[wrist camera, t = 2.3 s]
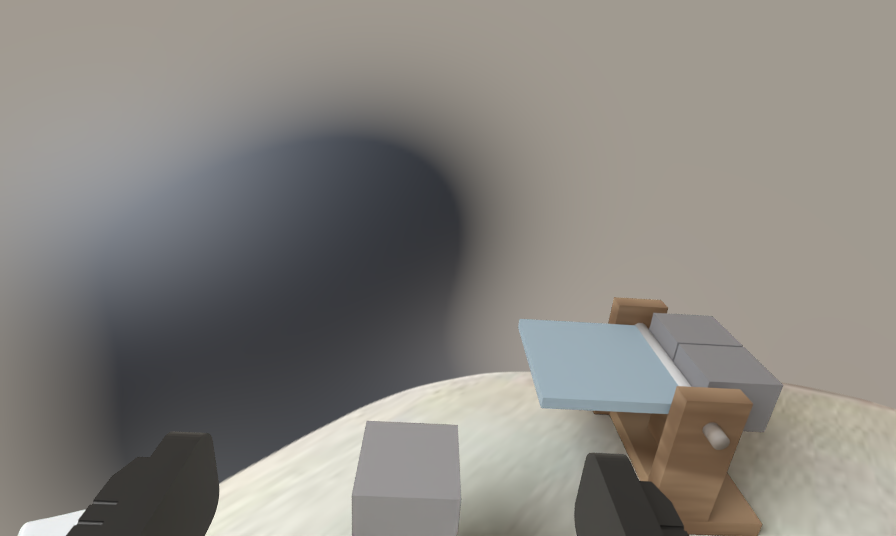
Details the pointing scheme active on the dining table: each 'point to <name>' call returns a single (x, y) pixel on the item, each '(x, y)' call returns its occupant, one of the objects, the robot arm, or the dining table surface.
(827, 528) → the dining table surface
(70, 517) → the skincare box
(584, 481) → the robot arm
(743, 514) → the trapdoor frame
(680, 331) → the trapdoor
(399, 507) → the basalt block
